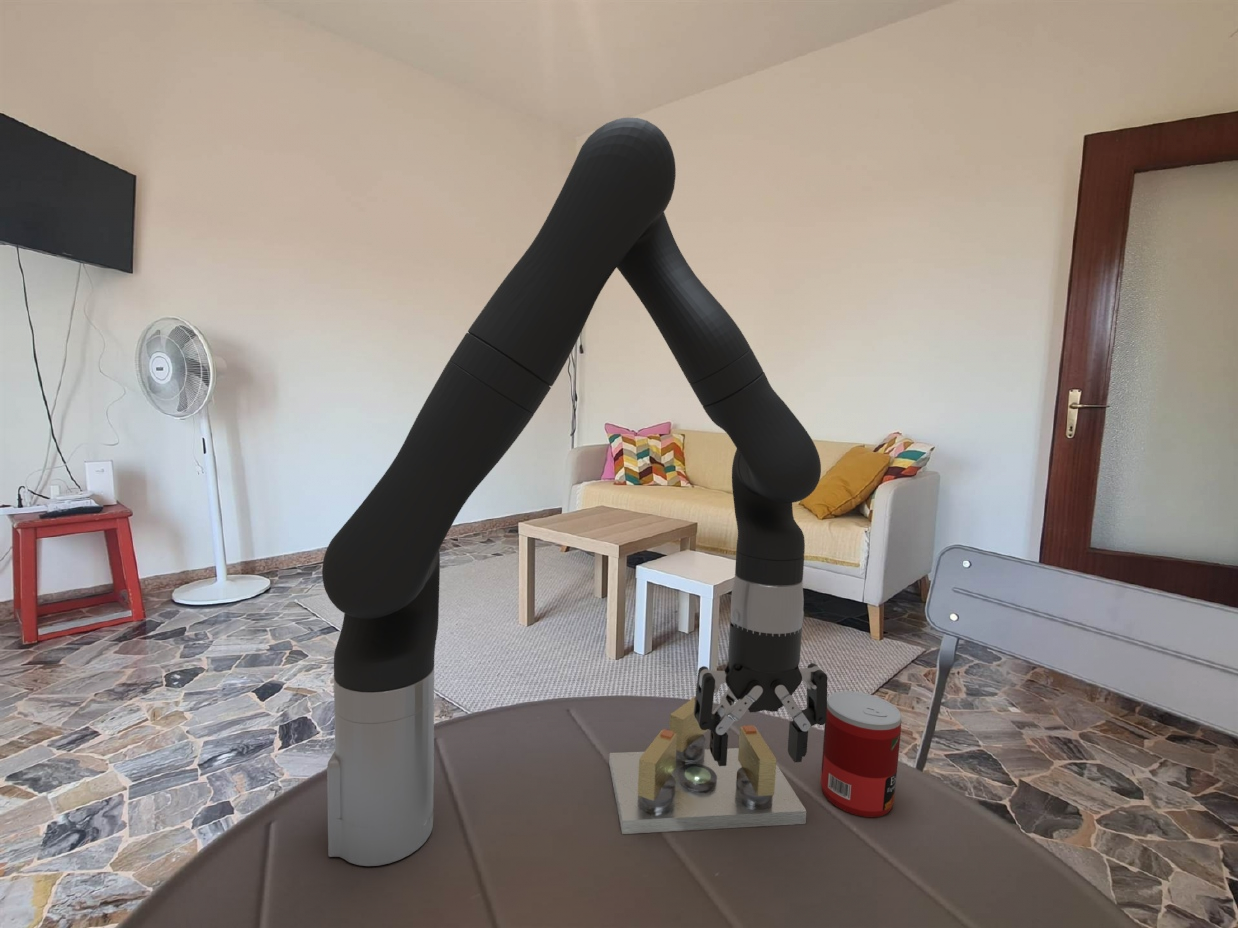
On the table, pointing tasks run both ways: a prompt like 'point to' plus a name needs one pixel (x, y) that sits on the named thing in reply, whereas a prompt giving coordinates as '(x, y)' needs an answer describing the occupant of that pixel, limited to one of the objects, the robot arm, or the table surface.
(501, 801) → the table surface
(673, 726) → the yellow paddle knob
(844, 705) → the canned food
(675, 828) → the level plate
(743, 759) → the knob
